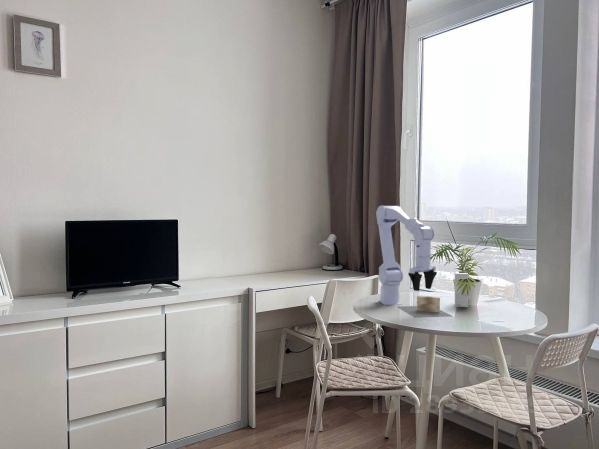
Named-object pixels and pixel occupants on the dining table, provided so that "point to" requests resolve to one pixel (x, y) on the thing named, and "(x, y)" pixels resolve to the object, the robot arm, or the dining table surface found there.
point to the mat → (422, 312)
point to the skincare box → (459, 299)
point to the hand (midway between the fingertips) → (422, 289)
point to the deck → (428, 303)
